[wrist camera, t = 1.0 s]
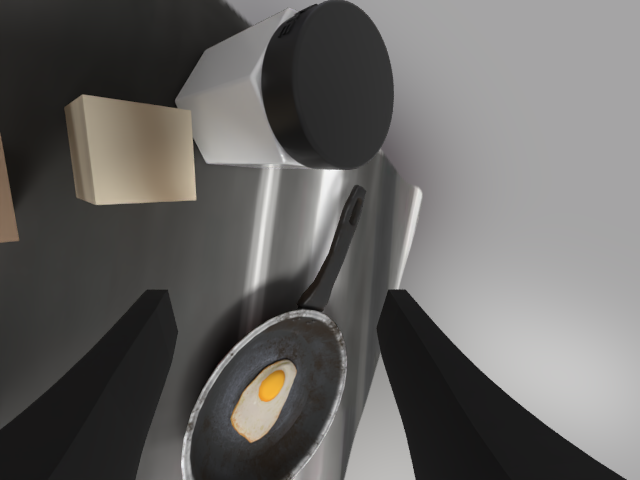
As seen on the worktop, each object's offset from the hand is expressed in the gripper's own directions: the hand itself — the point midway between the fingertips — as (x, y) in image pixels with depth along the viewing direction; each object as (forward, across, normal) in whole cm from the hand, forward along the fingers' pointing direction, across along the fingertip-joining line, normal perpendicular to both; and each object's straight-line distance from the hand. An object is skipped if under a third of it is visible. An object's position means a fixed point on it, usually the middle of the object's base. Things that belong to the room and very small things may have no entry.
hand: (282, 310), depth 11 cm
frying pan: (+14, -1, +19) cm, 23 cm away
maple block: (+13, +10, 0) cm, 17 cm away
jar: (+19, +4, -1) cm, 20 cm away
